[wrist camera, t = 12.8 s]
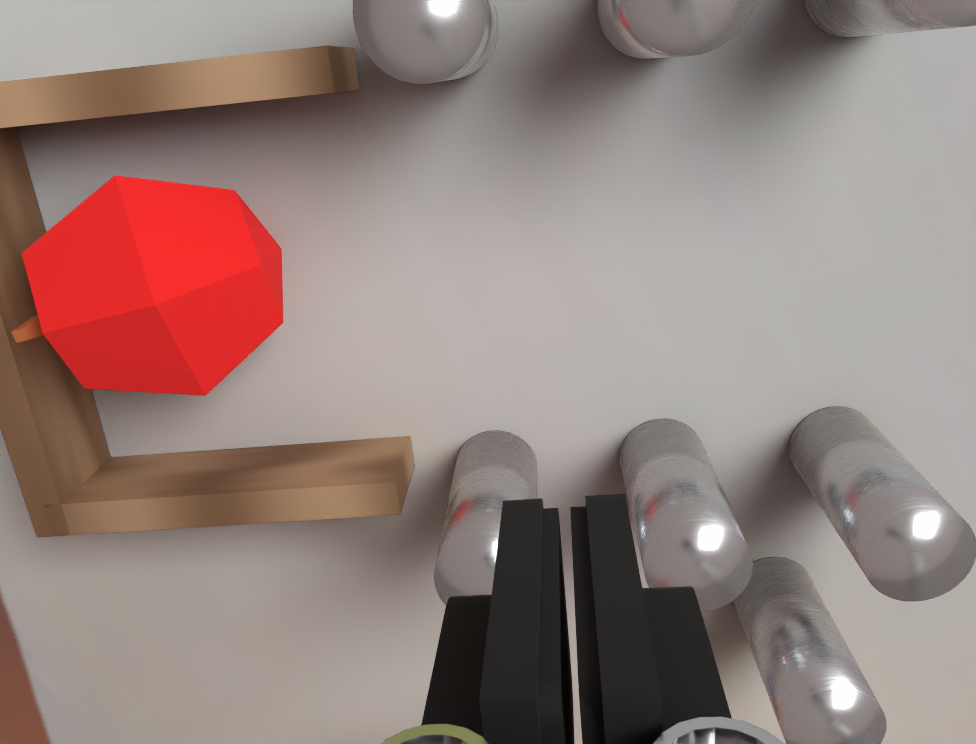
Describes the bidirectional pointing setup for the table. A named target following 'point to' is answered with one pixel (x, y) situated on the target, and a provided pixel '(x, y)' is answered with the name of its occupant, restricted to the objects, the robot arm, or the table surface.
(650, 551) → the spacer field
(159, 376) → the apple
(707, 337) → the table surface
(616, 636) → the robot arm
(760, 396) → the table surface
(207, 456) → the tray
